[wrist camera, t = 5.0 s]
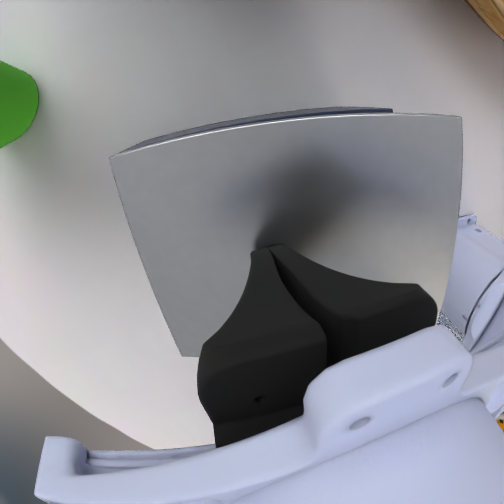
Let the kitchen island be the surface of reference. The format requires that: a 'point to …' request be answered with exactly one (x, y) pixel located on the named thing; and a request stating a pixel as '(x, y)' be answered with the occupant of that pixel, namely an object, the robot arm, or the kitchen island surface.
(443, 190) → the thin square panel
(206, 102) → the kitchen island surface
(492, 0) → the ceramic bowl
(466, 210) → the kitchen island surface
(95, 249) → the kitchen island surface
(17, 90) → the cup
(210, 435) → the kitchen island surface
